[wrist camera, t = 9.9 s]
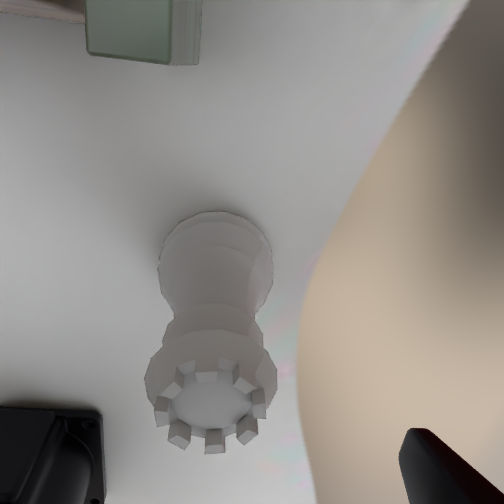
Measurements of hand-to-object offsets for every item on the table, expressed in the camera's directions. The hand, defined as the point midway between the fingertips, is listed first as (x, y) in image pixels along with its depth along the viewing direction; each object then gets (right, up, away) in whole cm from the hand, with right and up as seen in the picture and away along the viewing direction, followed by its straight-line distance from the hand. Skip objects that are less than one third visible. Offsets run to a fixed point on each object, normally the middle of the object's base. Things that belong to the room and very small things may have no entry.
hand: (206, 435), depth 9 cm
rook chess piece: (0, +4, +8) cm, 9 cm away
